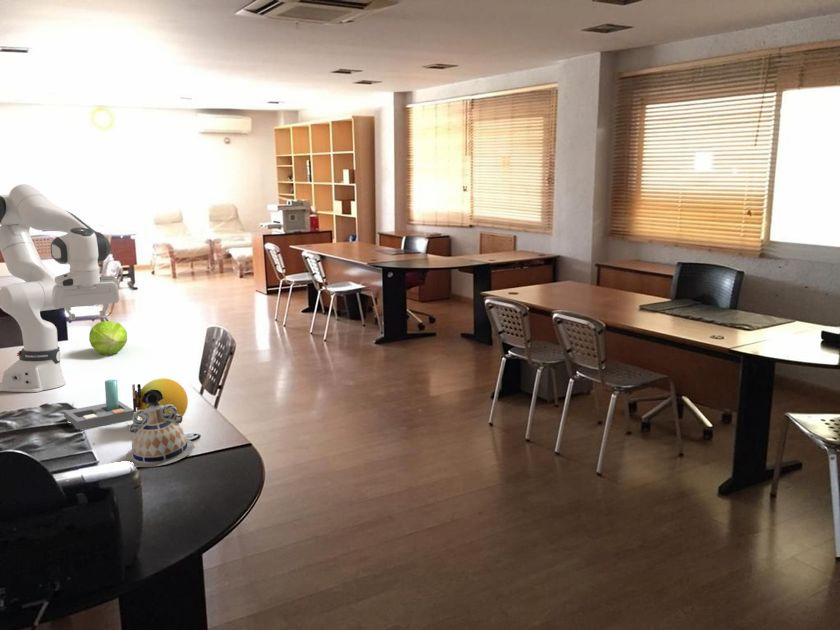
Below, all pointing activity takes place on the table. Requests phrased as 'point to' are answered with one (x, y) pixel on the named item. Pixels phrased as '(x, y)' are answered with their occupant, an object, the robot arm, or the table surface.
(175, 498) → the table surface
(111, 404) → the teal rounded cylinder
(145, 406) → the emoji
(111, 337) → the lettuce
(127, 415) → the socket board
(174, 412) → the figurine
